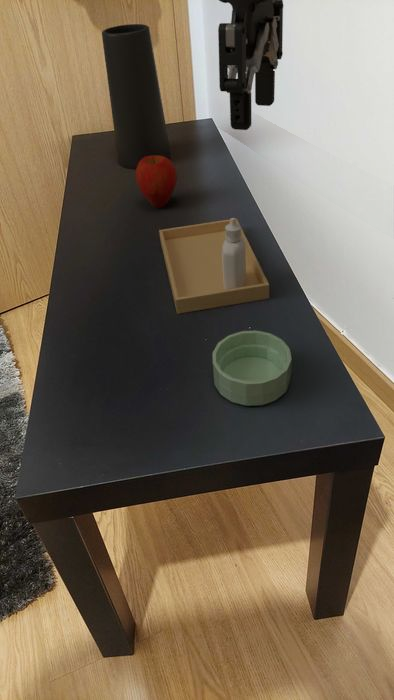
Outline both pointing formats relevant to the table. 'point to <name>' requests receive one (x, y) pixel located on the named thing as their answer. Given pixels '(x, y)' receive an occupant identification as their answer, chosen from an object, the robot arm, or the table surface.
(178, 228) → the tray
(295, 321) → the table surface
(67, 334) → the table surface
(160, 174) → the apple
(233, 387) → the bowl
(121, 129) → the vase
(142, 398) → the table surface
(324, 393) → the table surface
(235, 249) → the eye dropper bottle
